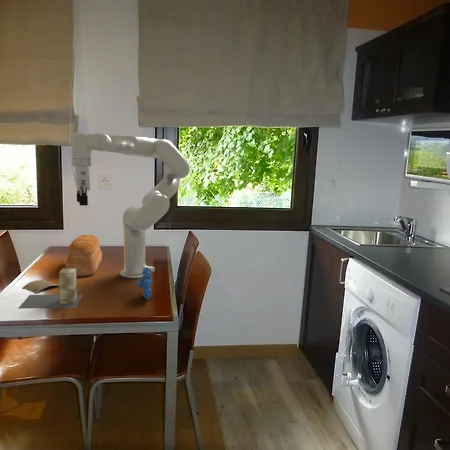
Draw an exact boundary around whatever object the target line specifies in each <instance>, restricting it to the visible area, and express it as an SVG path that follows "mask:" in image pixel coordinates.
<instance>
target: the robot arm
mask: <svg viewBox="0 0 450 450" xmlns="http://www.w3.org/2000/svg"><path fill="white" fill-rule="evenodd" d="M92 151H97V152H108V153H109V152H110V153H117V154H122V155H127V156H132V157H133V156H134V157H143V158H151V159H160V160H161V161H162V162H163V163H164V164H163V178H162V179H161V181H159V182H158V184H157V185H155V186H154V187H153V188H152V189H151V190H150V191H148V192H147V193H146V194H145V195H144V196H143V197H142V201H141V203H142V206H141V207H139V206H134V205H133V206H129V207H127V208H126V209H125V210H124V212H123V215H122V225H123V269H122V270H121V271H120V276H121V277H124V278H127V279H142V277H143V273H142V272H143V270H144V269H145V268H146V267H148V268H149V269H150V270H151V272H155V271H156V268H155V266H152V265H150V266H149V265H147V263H146V231H147V230H149V229H150V228H152V227H153V225H155V224H156V223H157V222H158V221H159V220H160V219H161V218H162V217H163V216H165V215H166V214H167V212H169V208H170V204H171V203H170V199H171V198H172V197H173V196H174V195H175V194H176V193H177V191H178V190H179V187H180V183H181V179H184V178H186V177H187V176H188V175H189V173H190V164H189V163H188V161H187V160H186V158H185V157H184V156H183V155H182V153H181V152H180V151H179V150H178V148H177V147H176V146H175V145H174V144H173V143H172V142H171V141H170V140H167V139H158V138H152V137H144V136H135V135H115V134H106V133H103V132H94V133H87V132H76V131H75V132H73V133H72V135H71V166H72V167H74V174H75V175H74V177H75V179H74V180H75V181H74V183H75V188H76V202H77V203H78V204H79V206H89V205H88V204H89V203H88V202H89V201H88V200H89V199H88V198H89V197H88V192H89V191H90V190H91V182H90V180H91V178H90V177H91V175H90V168H91V167H92Z"/></svg>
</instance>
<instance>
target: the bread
mask: <svg viewBox="0 0 450 450" xmlns="http://www.w3.org/2000/svg"><path fill="white" fill-rule="evenodd" d="M67 249H68V250H67V252H68V255H67V258H66V261H65V269H76V277H87V276H91V275H94V274H95V273H96V271H97V269H98V267H99V266H100V265H101V263H102V258H103V251H102V249H101V248H100V240H99V238H97V236H95V235H93V234H81V235H79V236H78V237H76V238H74V239H73V240H72V241H71V244H70V245H69V246H68V248H67Z"/></svg>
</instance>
